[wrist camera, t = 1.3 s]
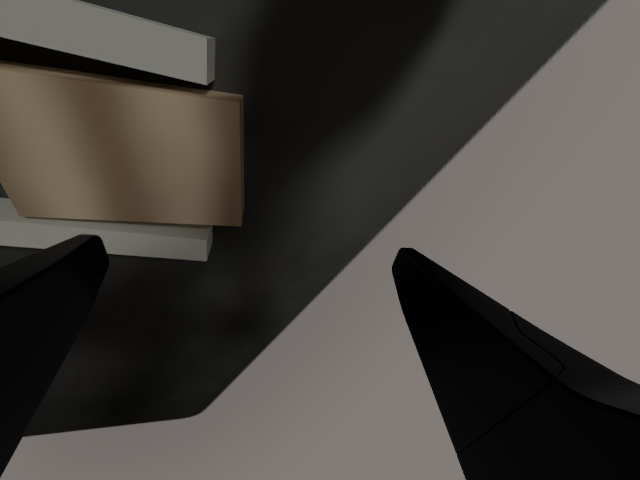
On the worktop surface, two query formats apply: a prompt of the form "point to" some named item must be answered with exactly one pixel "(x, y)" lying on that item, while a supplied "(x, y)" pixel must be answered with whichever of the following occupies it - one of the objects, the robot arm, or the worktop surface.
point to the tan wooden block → (119, 148)
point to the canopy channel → (127, 50)
